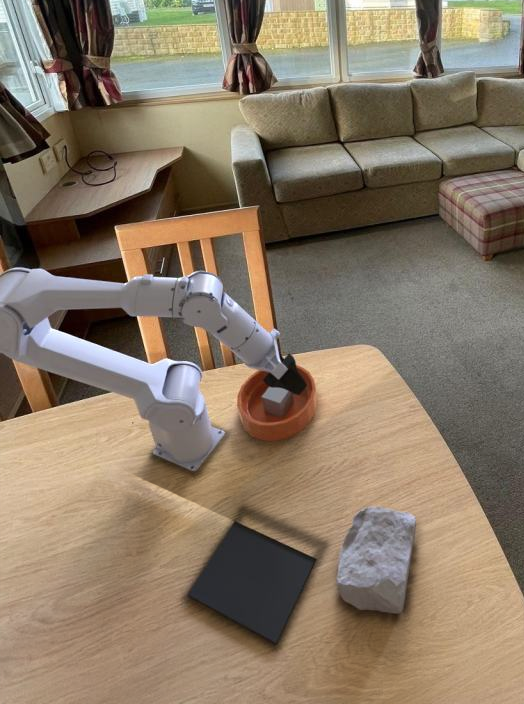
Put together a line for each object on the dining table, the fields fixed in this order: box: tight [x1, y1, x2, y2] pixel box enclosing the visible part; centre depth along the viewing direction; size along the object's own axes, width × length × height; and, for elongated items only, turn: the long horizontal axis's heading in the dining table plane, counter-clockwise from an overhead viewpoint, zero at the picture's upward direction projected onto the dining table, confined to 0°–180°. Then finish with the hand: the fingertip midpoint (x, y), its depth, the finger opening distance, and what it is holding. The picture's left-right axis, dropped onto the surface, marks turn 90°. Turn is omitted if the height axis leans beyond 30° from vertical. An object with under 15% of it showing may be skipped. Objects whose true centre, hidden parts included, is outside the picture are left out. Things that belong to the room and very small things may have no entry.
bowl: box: [236, 364, 318, 442], centre depth 90 cm, size 14×14×4 cm
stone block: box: [336, 505, 417, 615], centre depth 67 cm, size 12×5×10 cm
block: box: [262, 387, 294, 418], centre depth 90 cm, size 4×4×4 cm
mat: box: [187, 520, 317, 645], centre depth 67 cm, size 14×12×1 cm
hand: (292, 379), depth 83 cm, fingers open, 7 cm apart
